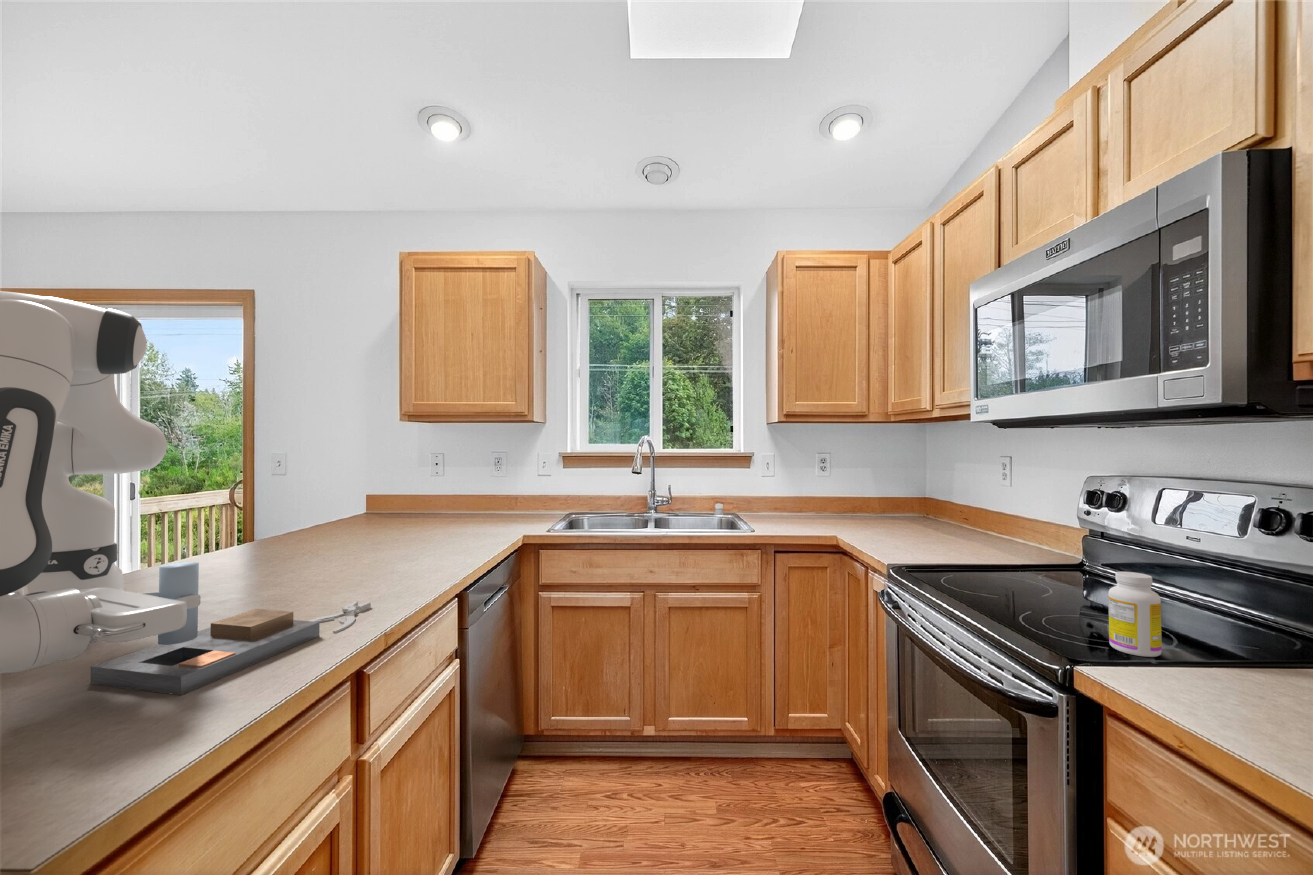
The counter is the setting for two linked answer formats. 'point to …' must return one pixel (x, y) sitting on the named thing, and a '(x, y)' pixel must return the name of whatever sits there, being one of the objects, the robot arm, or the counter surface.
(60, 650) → the robot arm
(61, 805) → the counter surface
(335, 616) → the pliers
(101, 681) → the rack
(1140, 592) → the supplement bottle
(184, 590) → the peg
